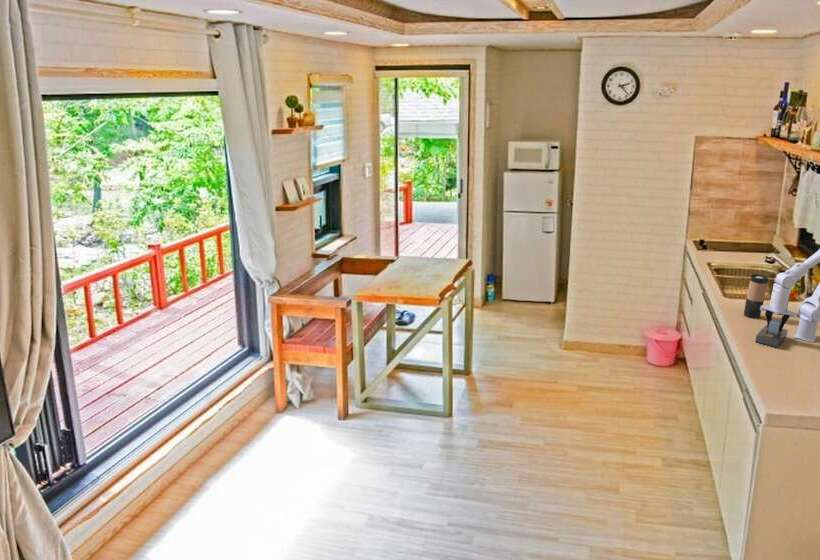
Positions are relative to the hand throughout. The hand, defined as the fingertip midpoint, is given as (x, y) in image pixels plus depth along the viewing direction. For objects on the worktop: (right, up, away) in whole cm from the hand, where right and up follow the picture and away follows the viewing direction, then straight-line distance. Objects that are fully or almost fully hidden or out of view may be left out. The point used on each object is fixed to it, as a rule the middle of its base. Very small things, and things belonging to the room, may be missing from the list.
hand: (774, 329), depth 322 cm
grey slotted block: (-2, -5, -1) cm, 5 cm away
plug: (0, -2, +1) cm, 2 cm away
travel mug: (+4, +4, +30) cm, 30 cm away
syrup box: (+20, +6, +37) cm, 43 cm away
